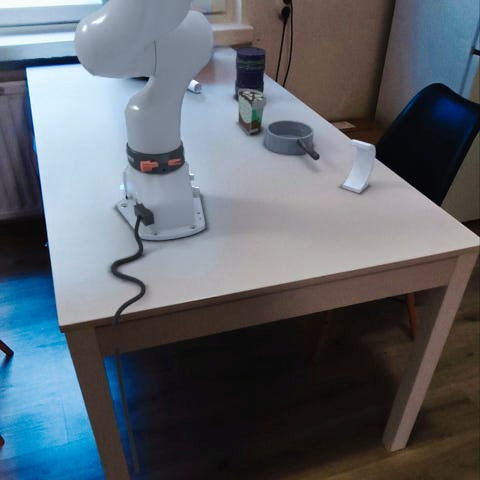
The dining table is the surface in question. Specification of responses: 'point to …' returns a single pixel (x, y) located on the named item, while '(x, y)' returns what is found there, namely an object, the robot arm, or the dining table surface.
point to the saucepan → (288, 136)
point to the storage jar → (250, 69)
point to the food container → (251, 110)
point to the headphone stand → (361, 166)
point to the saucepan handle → (308, 149)
